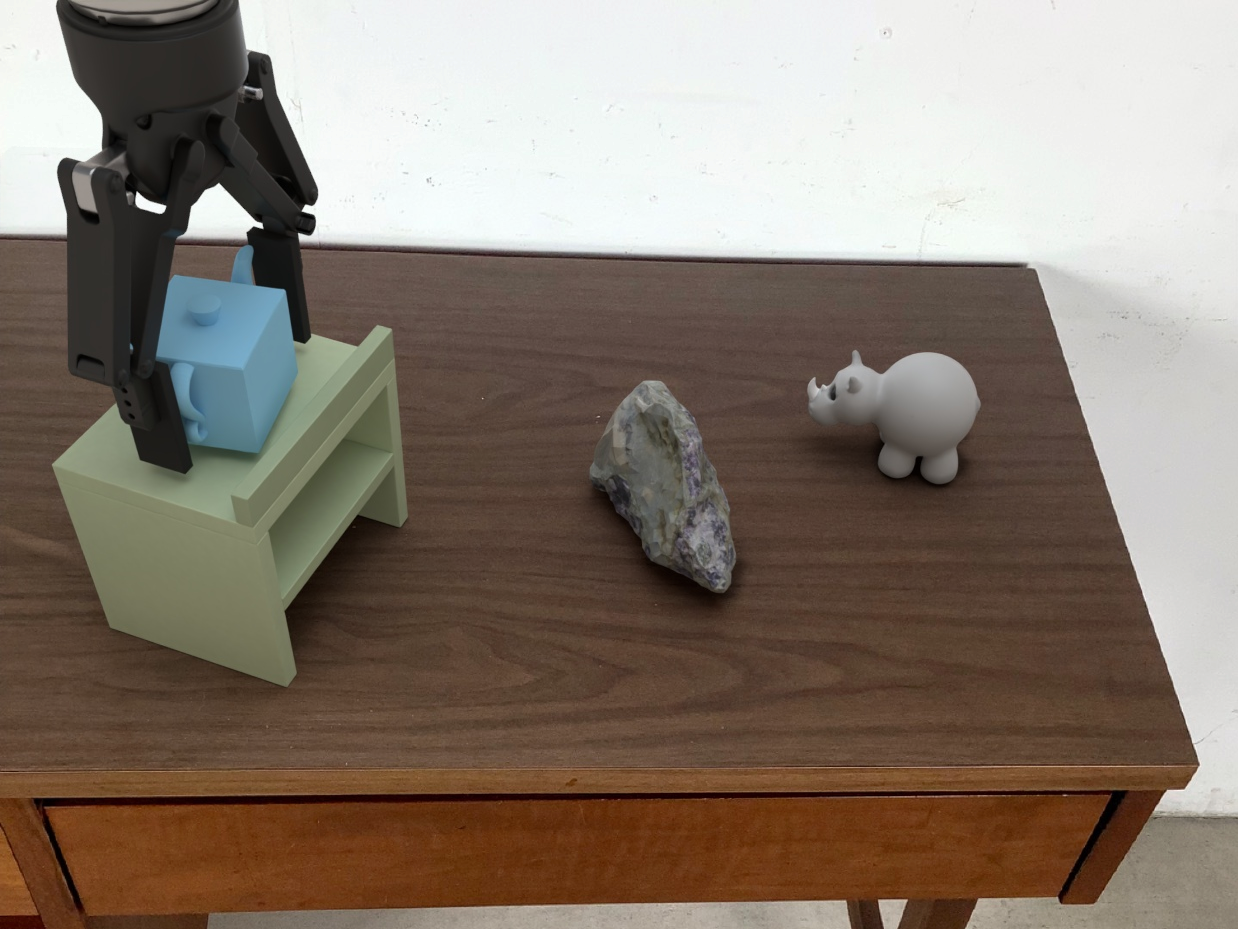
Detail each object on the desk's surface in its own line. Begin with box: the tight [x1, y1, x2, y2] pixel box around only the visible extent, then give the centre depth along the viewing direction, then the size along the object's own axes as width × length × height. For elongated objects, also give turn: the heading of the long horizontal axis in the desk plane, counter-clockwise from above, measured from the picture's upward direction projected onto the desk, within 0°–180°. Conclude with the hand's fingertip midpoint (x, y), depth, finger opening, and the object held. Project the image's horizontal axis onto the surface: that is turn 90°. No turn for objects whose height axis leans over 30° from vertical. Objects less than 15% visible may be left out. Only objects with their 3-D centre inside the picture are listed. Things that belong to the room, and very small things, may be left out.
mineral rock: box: [589, 380, 737, 594], centre depth 82 cm, size 13×11×10 cm
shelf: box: [51, 324, 409, 688], centre depth 76 cm, size 12×16×15 cm
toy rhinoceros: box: [806, 349, 982, 485], centre depth 90 cm, size 7×12×8 cm, turn 80°
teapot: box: [130, 244, 298, 453], centre depth 69 cm, size 12×6×8 cm, turn 173°
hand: (230, 395), depth 71 cm, fingers closed on teapot, 12 cm apart
